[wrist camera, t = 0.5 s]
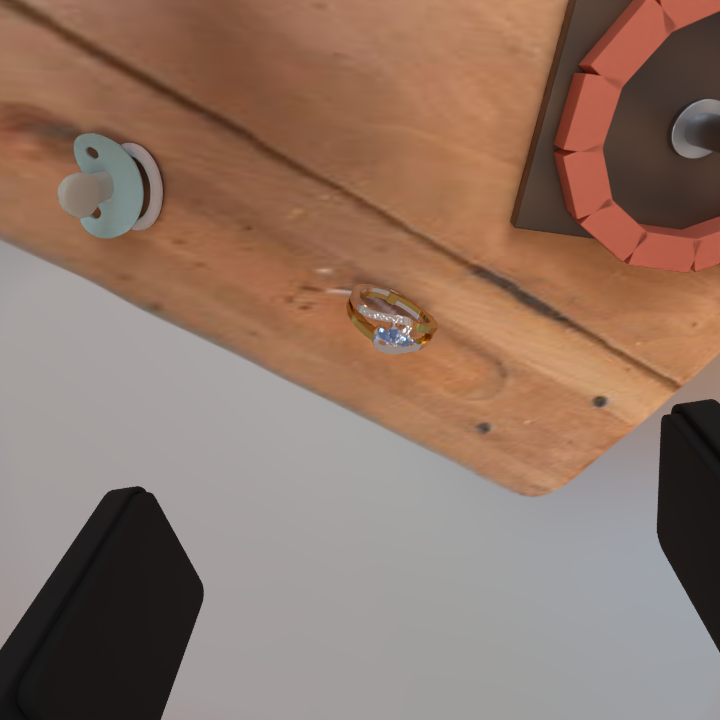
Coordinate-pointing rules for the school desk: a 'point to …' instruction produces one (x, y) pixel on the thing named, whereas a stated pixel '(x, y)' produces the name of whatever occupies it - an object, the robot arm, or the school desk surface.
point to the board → (629, 128)
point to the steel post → (696, 129)
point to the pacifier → (110, 187)
